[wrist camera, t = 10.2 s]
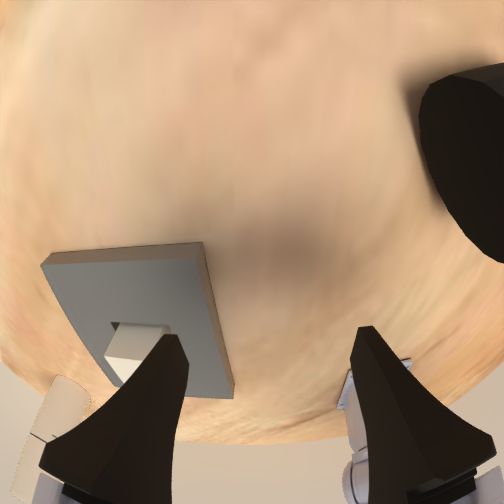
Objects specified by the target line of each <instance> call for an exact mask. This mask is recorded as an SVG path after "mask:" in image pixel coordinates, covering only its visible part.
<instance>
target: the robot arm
mask: <svg viewBox="0 0 504 504" xmlns="http://www.w3.org/2000/svg"><path fill="white" fill-rule="evenodd" d="M350 362H351V369H352V370H350V371H349V372H348V375H347V378H346V381H345V384H344V387H343V390H342V393H341V396H340V399H339V401H338V404H337V409H344V411H345V417H346V423H347V429H348V436H349V442H350V446H351V448H352V450H353V451H354V452H355V453H354V454H352V461H350V462H348V464H347V466H346V467H345V469H344V472H343V477H342V483H343V492H344V495H345V498H346V500H347V502H348V504H504V481H503V477H502V473H501V468H500V466H497V467H495V468H493V469H492V470H490V471H488V472H487V473H485V474H484V475H482V476H480V477H478V478H475V479H474V476H475V475H476V474H477V470H476V467H478V466H480V465H481V464H483V463H484V462H486V461H488V460H489V459H491V458H492V457H494V456H495V455H496V453H497V452H496V449H495V445H494V442H493V439H492V436H491V435H489V434H487V433H485V432H483V431H481V430H479V429H478V428H476V427H474V426H472V425H471V424H469V423H468V422H466V421H464V420H463V419H461V418H460V417H459V416H457V415H456V414H454V413H453V412H452V411H451V410H449V409H448V408H447V407H446V406H444V405H443V404H442V403H441V402H440V401H438V400H437V399H436V398H435V397H434V396H433V395H432V394H431V393H430V392H429V391H428V390H427V389H426V388H425V387H424V386H423V385H422V384H421V383H420V382H419V381H418V380H417V379H416V378H415V377H414V376H413V375H412V374H411V372H410V371H409V369H410V367H411V365H412V363H413V361H412V359H409V360H404V361H400V359H399V358H398V357H397V356H396V355H395V353H394V352H393V351H392V350H391V348H390V347H389V346H388V344H387V343H386V342H385V341H384V339H383V338H382V337H381V335H380V334H379V333H378V331H377V330H376V329H375V328H374V327H373V326H365V327H358V331H357V335H356V338H355V342H354V346H353V349H352V353H351V357H350ZM189 365H190V364H189V362H188V359H187V357H186V354H185V352H184V350H183V347H182V345H181V342H180V340H179V337H178V335H177V334H163V335H162V337H161V338H160V339H159V341H158V342H157V343H156V344H155V346H154V347H153V348H152V350H151V351H150V352H149V354H148V355H147V356H146V358H145V359H144V360H143V361H142V363H141V364H140V365H139V366H138V368H137V369H136V370H135V371H134V373H133V374H132V375H131V376H130V377H129V378H128V380H127V381H126V382H125V383H124V384H123V385H122V386H121V388H120V389H119V390H118V391H117V392H116V393H115V394H114V395H113V396H112V397H111V398H110V399H109V400H108V401H107V402H106V403H105V404H104V405H103V406H101V407H100V408H99V409H98V410H97V411H96V412H94V413H93V414H92V415H91V416H90V417H88V418H87V419H86V420H84V421H83V422H82V423H80V424H79V425H77V426H76V427H74V428H73V429H71V430H70V431H68V432H67V433H65V434H63V435H61V436H59V437H57V438H56V439H54V440H52V441H50V442H48V443H46V445H45V447H44V450H43V453H42V456H41V459H40V462H39V465H38V466H39V468H41V469H42V470H44V471H45V472H47V473H49V474H50V475H52V476H54V477H56V478H57V479H59V480H61V481H63V482H64V484H63V483H61V482H59V481H57V480H55V479H53V478H51V477H49V476H48V475H46V474H44V473H42V472H41V473H40V475H39V478H38V482H37V485H36V489H35V492H34V496H33V500H32V504H172V495H171V493H172V492H171V482H172V479H171V478H172V460H173V448H174V440H175V433H176V428H177V424H178V420H179V416H180V412H181V408H182V404H183V400H184V396H185V392H186V388H187V382H188V374H189Z"/></svg>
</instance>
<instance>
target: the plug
mask: <svg viewBox="0 0 504 504" xmlns="http://www.w3.org/2000/svg"><path fill="white" fill-rule="evenodd" d="M163 334H172V332H171V330H170V327H169V325H158V324H137V323H120V324H119V326H118V328H117V330H116V332H115V334H114V336H113V338H112V340H111V342H110V344H109V346H108V348H107V350H106V352H105V354H104V357H105V359H106V360H107V361H108V363H109V364H110V366H111V367H112V368H113V370H114V371H115V372H116V374H117V375H118V377H119V378H120V379H121V380H122V382H123V383H125V382H126V381H127V380H128V378H129V377H130V376H131V375H132V374H133V373H134V371H135V370H136V369H137V368H138V366H139V365H140V364H141V363H142V361H143V360H144V359H145V358H146V356H147V355H148V354H149V352H150V351H151V350H152V348H153V347H154V346H155V344H156V343H157V342H158V341H159V339H160V338H161V337H162V335H163Z"/></svg>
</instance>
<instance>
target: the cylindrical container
mask: <svg viewBox="0 0 504 504" xmlns="http://www.w3.org/2000/svg"><path fill="white" fill-rule="evenodd" d="M89 400H90V395H89V393H88V392H87V391H86V390H85V389H84V388H83V387H81V386H80V385H79V384H77V383H76V382H74V381H73V380H71V379H69V378H67V377H65V376H62V375H56V377H55V379H54V381H53V383H52V385H51V387H50V389H49V391H48V393H47V395H46V397H45V399H44V401H43V404H42V406H41V408H40V410H39V412H38V415H37V417H36V419H35V422H34V424H33V426H32V429H31V431H30V434H29V436H28V439H27V441H26V444H25V447H24V449H23V452H22V455H21V458H20V461H19V463H18V466H17V470H16V473H15V476H14V479H13V483H12V487H11V490H10V492H11V493H12V494H13V495H14V496H15V497H16V498H18V499H19V500H20V501H22V502H23V503H25V504H32V500H33V496H34V492H35V489H36V485H37V482H38V478H39V475H40V473H41V472H42V473H44V474H46V475H48V476H49V477H51V478H53V479H55V480H57V481H59V482H61V480H59V479H57V478H56V477H54V476H52V475H50V474H49V473H47V472H45V471H44V470H42V469H41V468H39V466H38V465H39V462H40V459H41V456H42V453H43V450H44V447H45V445H46V443H48V442H50V441H52V440H54V439H56V438H57V437H59V436H61V435H63V434H65V433H67V432H68V431H70V430H71V429H73V428H74V427H76V426H77V425H79V424H80V423H81V420H82V417H83V415H84V412H85V410H86V407H87V405H88V402H89Z"/></svg>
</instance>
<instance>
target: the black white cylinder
mask: <svg viewBox="0 0 504 504" xmlns="http://www.w3.org/2000/svg"><path fill="white" fill-rule="evenodd" d="M419 124H420V134H421V144H422V147H423V150H424V154H425V157H426V161H427V164H428V168H429V172H430V174H431V176H432V178H433V181H434V183H435V185H436V188H437V190H438V192H439V194H440V196H441V198H442V200H443V201H444V203H445V205H446V207H447V209H448V211H449V213H450V214H451V215H452V217H453V218H454V220H455V221H456V222H457V224H458V225H459V227H460V228H461V230H462V231H463V233H464V234H465V236H466V237H467V238H469V239H470V240H471V241H472V242H473V243H474V244H475V245H476V246H477V247H478V248H479V249H480V250H481V251H482V252H483V253H484V254H485V255H487V256H488V257H490V258H492V259H494V260H495V261H497V262H499V263H504V63H499V64H494V65H490V66H485V67H480V68H476V69H472V70H468V71H464V72H460V73H456V74H452V75H450V76H447V77H445V78H443V79H441V80H439V81H436V82H434V83H432V84H430V85H429V87H428V89H427V91H426V92H425V94H424V96H423V97H422V102H421V107H420V112H419Z"/></svg>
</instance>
